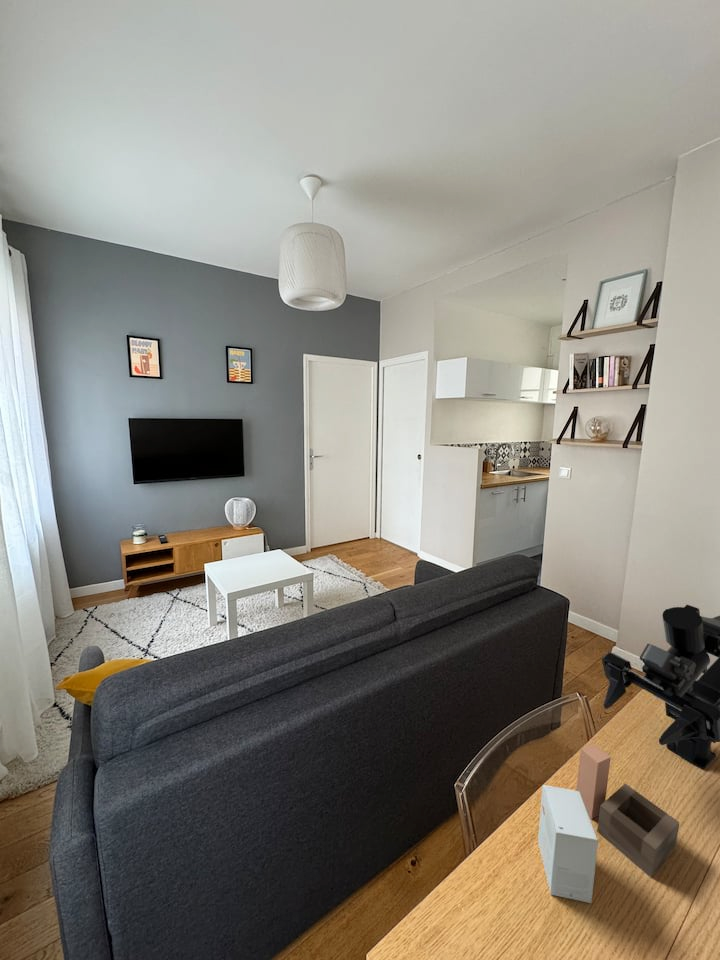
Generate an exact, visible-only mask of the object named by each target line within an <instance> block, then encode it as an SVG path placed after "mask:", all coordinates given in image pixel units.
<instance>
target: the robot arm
mask: <svg viewBox="0 0 720 960" xmlns="http://www.w3.org/2000/svg"><path fill="white" fill-rule="evenodd" d="M700 613H701V612H700V608H699V607H695V606H692V605H690V604H686V605H685V606H684V607H683V606H682V607H681V606H676V607H674V606H673V607H670V608H666V609H665V610H663V612H662V621H663V629H664V633H665V634H664V635H665V642H666V643H668V645H670V647H669V648H668V649H667V650H664V649H663V648H660V647H658V646H657V645H656V646H655V645H653V644H651V643H647V644H646V646H645V647H644V649H643V651H642V652H641V654H640V656H639V660H640V661H642V662H643V666H641V669H642V672H643V673H645V675H644V676H643V675H641V674H640V673H637V672H636V671H633V670H632V664H631V661H630V660H628V659H625V658H623V657H621V656H619V655H617V654H616V653H614V652H609V651H608V652H607V653H605V654H604V655H603V657H602V658H601V662H602V667H603V670H604V671H603V672H604V675H605V678H606V679H607V680H608V688H607V691H606V695H605V698H604V702H603V708H604V709H605V710H608V709H610V708H611V707H612V706H613V705H615V704H616V703H617V702H618V701H619V699H621V698H622V697H623V696H624V695H625V694H626V693H627V689H626V688H628V689H629V687H630V686H631V685H632V684H633V685H635V686H637V687H639V688H641V689H642V690H644V691H645V692H647V693H650V695H653V696H654V697H656V698H657V699H659V700H660V701H662V702H664V707H665V715H666V717H668V718H670V719H672V720H674V721H672V723H671V724H670V725H669V726H668V727H667V728H666V729H665V730H664V732H662V734H661V735H660V737H659V739H658V743H659V744H660V745H661V746H665V747H666V748H667V749H668V750H670V751H672V752H673V753H675V754H677V755H678V756H680V757H682V758H683V759H685V760H686V761H689V763H691V764H693V765H695V766H697V767H698V768H700V769H702V770H706V768H707V767H708V766H709V765H711V763H712V762H713V761H714V760H715V758H716V757H717V753H716V752H714V751H712V750H711V748H712V743H713V744H716V743H720V615H717V616H715V617H706V616H701V615H700ZM710 655H711V656H714V657H716V658H717V659H716V660H714V661H713V663H712V664H711V665H710V663H711V659H710ZM709 665H710V666H709ZM708 666H709V667H708ZM701 674H702V675H701Z"/></svg>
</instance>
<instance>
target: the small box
mask: <svg viewBox="0 0 720 960" xmlns="http://www.w3.org/2000/svg"><path fill="white" fill-rule="evenodd" d="M541 787H542V789H541V801H540V811H539V812H540V813H539V825H538V835H537V837H538V838H537V841H538V845H539V850H540V854H541V858H542V863H543V868H544V872H545V875H546V876H545V877H546V879H547V880H546V881H547V885H548V888H549V894H550V895H551V896H557V897H562V898H565V899H569V900H570V899H571V900H575V901H580V902H584V903H589V904H591V903H592V902H593V892H594V884H595V872H596V865H597V854H598V846H599V839H598V836H597V834H596V831H595V829H594V826H593V823H592V820H591V819H590V818H589V815H588V812H587V810H586V807H585V805H584V802H583V799H582V797H581V794H580V792H579V791H576V790H574V789H568V788H564V787H557V786H551V785H545V784H543V785H542V786H541Z"/></svg>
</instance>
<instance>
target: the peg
mask: <svg viewBox="0 0 720 960" xmlns="http://www.w3.org/2000/svg"><path fill="white" fill-rule="evenodd" d="M578 761H579V764H578V771H577V772H578V773H577V781H576V787H575V788H576V790H575V791H579V792H580V794H581V797H582V799H583V802H584V805H585V807H586V810H587V812H588V815H589V818H590V820H591V821H592V820H593V819H595V818H597V817H599V812H600V805H601V804H602V803H604V802H605V801H606V800H607V799H606V798H607V790H608V782H609V781H608V780H609V776H610V775H609V773H610V765H611V756H610V755H609V754H608V753H606V752H605V751H604V750H602V749H601V748H600V747H599V746H598V745H597V744H595V743H594V742H593V743H591V744H589V745H586V746H583V747H582V748H580V754H579V760H578Z"/></svg>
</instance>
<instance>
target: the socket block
mask: <svg viewBox="0 0 720 960" xmlns="http://www.w3.org/2000/svg"><path fill="white" fill-rule="evenodd" d="M597 821H598V822H597V829H596V831H597V833H598V834H600V836H602V837H603V838H604V839H605V840H606V841H608V842H609V843H610V844H611V845H612V846H613V847H614V848H616V850H618V851H619V852H620V853H622V855H624V856H625V857H626V858H627V859H628V860H630V861H631V862H632V863H633V864H635V865H636V866H637V867H638V868H640V870H641V871H643V872H644V873H645V874H646V875H647V876H648V877H650V878H653V876H654V875H655V874H656V873H657V872H658V870H659V869H660V868H661V867H662V866H663V865H664V864H665V862H666V861H667V860H668V858H670V856H671V855H672V854H673V853H674V851H675V850H676V846H677V841H678V835H679V834H678V833H679V828H680V822H679V821H678V820H677V819H676V818H674V817H673V816H671V815H670V814H669V813H667V812H666V811H664V810H663V809H661V808H660V807H658V806H657V805H656V804H655V803H653V802H652V801H650V800H649V799H648V798H647V797H645V796H643V794H640V792H638V791H636V790H635V789H634V788H633V787H631V786H629V785H628V784H627V783H624V784H622V786H620V787H619V788H618V789H617V790H616V791H615V792H614V793H612V794H611V795H610V796H609V797H608V798H607V799H605V802H604V803H602V804H601V805H600V812H599V816H598V820H597Z"/></svg>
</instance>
